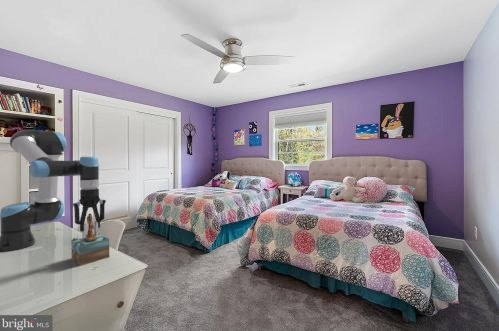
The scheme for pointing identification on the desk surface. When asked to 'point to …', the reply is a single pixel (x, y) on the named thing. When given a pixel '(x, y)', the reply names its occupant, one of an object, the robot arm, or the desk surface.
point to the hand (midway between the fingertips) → (90, 236)
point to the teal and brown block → (90, 249)
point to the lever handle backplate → (90, 232)
